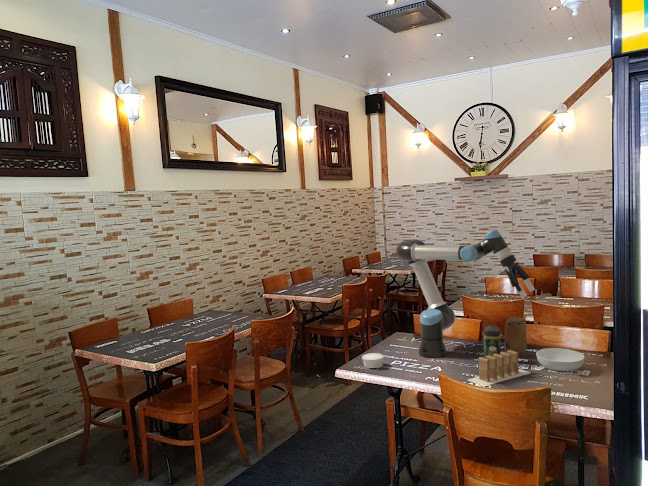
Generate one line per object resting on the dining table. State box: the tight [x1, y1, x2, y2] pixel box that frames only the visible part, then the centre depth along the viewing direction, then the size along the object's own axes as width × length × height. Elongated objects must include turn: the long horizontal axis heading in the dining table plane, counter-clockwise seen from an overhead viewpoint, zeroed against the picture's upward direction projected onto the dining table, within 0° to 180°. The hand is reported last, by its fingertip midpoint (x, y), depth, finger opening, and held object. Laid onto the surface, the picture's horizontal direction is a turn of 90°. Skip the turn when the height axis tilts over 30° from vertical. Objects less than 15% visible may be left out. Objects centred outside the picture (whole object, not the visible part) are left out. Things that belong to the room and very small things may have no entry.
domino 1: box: [478, 356, 490, 382], centre depth 218 cm, size 2×5×10 cm, turn 26°
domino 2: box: [486, 355, 497, 380], centre depth 220 cm, size 2×5×10 cm, turn 26°
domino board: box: [467, 368, 531, 388], centre depth 222 cm, size 30×10×1 cm, turn 117°
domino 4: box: [500, 351, 512, 376], centre depth 224 cm, size 2×5×10 cm, turn 27°
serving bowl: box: [536, 347, 585, 372], centre depth 231 cm, size 21×21×7 cm
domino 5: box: [507, 350, 520, 374], centre depth 226 cm, size 2×5×10 cm, turn 27°
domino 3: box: [493, 354, 505, 378], centre depth 222 cm, size 2×5×10 cm, turn 27°
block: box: [504, 316, 528, 358], centre depth 252 cm, size 11×8×20 cm
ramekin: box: [361, 352, 385, 369], centre depth 249 cm, size 11×11×5 cm
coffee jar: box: [483, 325, 502, 359], centre depth 242 cm, size 10×8×19 cm
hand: (528, 293), depth 244 cm, fingers open, 13 cm apart
